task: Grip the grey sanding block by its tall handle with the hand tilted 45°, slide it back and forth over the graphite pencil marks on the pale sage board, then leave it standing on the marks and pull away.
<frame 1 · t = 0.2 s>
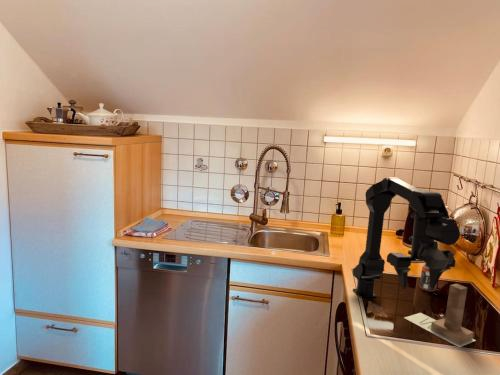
hand: (417, 288, 111), 14 cm above the worktop, tool pointing down, fingers open, 9 cm apart
supplement bottle: (427, 289, 148), on the worktop
board: (437, 332, 116), on the worktop
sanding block: (451, 335, 112), point 1 cm above the worktop, touching board
shard: (373, 314, 126), on the worktop
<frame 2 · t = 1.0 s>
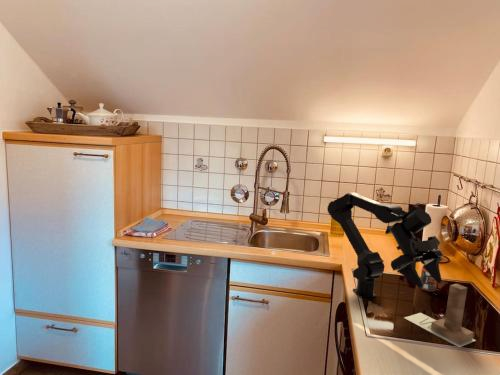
hand: (431, 285, 117), 13 cm above the worktop, tool tilted 45°, fingers open, 9 cm apart
nothing on the worktop moved.
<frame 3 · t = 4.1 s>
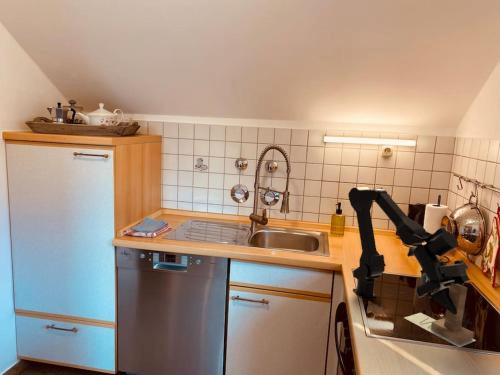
hand: (459, 312, 110), 9 cm above the worktop, tool tilted 45°, fingers closed on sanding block, 3 cm apart
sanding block: (451, 335, 112), point 1 cm above the worktop, touching board, gripper
everything else where it was.
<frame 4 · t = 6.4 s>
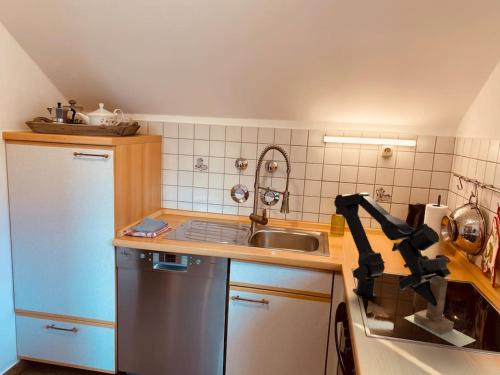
hand: (439, 304, 115), 9 cm above the worktop, tool tilted 45°, fingers closed on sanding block, 3 cm apart
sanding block: (432, 325, 117), point 1 cm above the worktop, touching gripper
everything else where it was.
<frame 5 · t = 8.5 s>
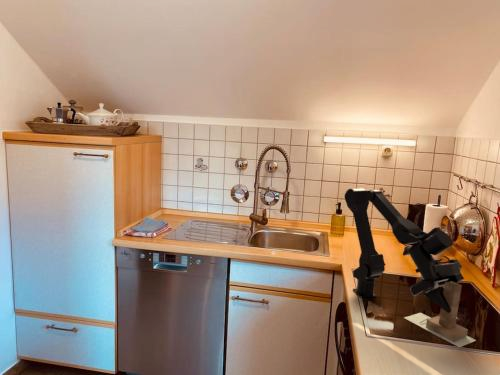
hand: (453, 311, 111), 8 cm above the worktop, tool tilted 45°, fingers closed on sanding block, 3 cm apart
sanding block: (445, 332, 113), point 1 cm above the worktop, touching gripper
everything else where it was.
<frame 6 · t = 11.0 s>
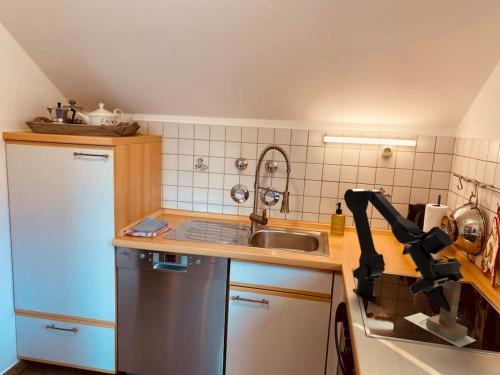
hand: (453, 310, 111), 9 cm above the worktop, tool tilted 45°, fingers closed on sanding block, 3 cm apart
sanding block: (445, 331, 113), point 2 cm above the worktop, touching gripper
everything else where it was.
when the fingers open (9 cm above the worktop, at t = 13.2 s): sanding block stays where it is, resting on board.
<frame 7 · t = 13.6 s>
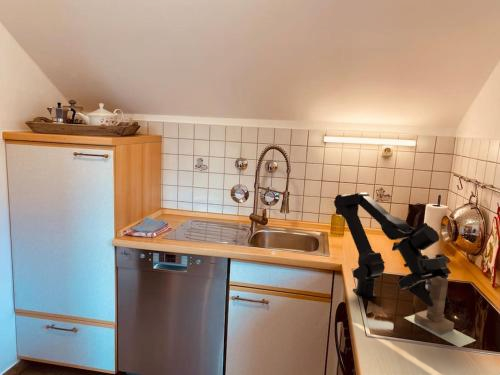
hand: (440, 304, 115), 9 cm above the worktop, tool tilted 45°, fingers open, 7 cm apart
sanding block: (433, 325, 117), point 1 cm above the worktop, touching board
everything else where it was.
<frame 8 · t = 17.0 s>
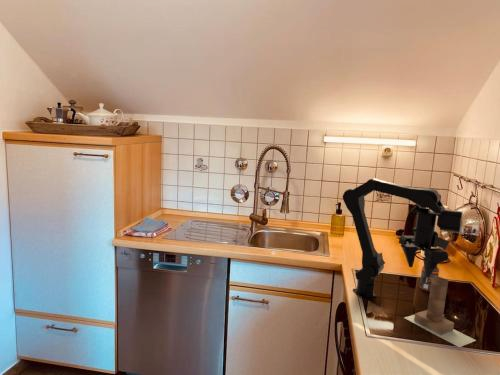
hand: (418, 272, 129), 13 cm above the worktop, tool pointing down, fingers open, 9 cm apart
nothing on the worktop moved.
at the end: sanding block 0.4 cm from the target spot, point 1.2 cm above the worktop; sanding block tilted 0°; the gripper is holding nothing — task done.
